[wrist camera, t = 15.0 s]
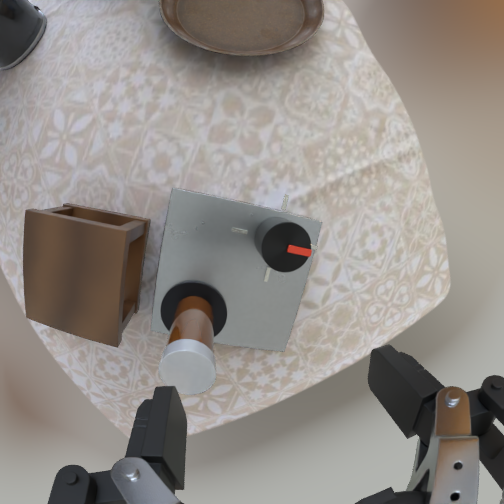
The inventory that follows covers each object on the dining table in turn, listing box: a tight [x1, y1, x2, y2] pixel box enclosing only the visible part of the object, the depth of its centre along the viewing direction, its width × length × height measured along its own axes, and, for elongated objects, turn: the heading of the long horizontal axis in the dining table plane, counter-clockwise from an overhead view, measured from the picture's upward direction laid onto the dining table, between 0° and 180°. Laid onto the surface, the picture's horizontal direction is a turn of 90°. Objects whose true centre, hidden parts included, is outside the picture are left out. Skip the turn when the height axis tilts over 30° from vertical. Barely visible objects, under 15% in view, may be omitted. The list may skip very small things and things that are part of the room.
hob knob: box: [254, 217, 312, 272], centre depth 23 cm, size 4×4×4 cm
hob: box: [151, 188, 322, 352], centre depth 27 cm, size 14×16×3 cm
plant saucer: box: [159, 0, 324, 56], centre depth 21 cm, size 18×18×3 cm
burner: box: [160, 281, 227, 337], centre depth 26 cm, size 6×6×1 cm
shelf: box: [23, 203, 150, 347], centre depth 23 cm, size 10×10×8 cm
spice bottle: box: [159, 296, 216, 395], centre depth 21 cm, size 4×4×10 cm
